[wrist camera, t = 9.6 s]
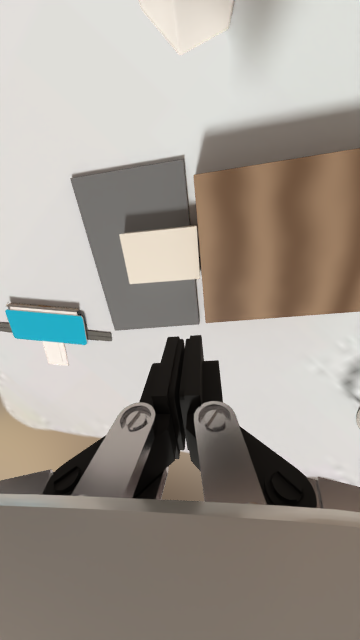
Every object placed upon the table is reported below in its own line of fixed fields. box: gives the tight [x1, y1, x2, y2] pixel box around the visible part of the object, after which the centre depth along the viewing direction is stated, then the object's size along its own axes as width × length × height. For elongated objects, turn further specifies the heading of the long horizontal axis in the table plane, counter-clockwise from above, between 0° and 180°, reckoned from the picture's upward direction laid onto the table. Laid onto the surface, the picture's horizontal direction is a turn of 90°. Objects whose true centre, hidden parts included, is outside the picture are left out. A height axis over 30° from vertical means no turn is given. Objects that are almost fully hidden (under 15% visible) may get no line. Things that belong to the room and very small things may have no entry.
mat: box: [70, 159, 199, 330], centre depth 29 cm, size 13×20×1 cm, turn 7°
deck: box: [194, 148, 360, 323], centre depth 25 cm, size 20×16×4 cm
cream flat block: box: [119, 225, 200, 284], centre depth 27 cm, size 9×6×2 cm, turn 96°
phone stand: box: [0, 303, 112, 366], centre depth 35 cm, size 20×12×2 cm, turn 87°
